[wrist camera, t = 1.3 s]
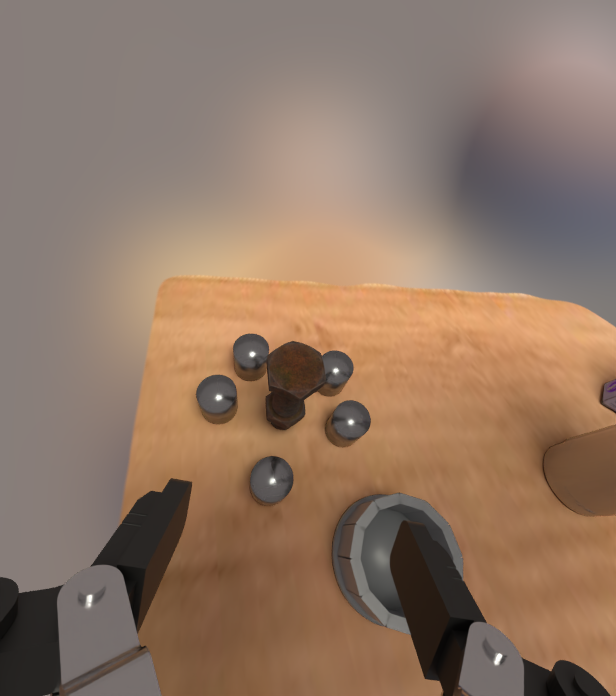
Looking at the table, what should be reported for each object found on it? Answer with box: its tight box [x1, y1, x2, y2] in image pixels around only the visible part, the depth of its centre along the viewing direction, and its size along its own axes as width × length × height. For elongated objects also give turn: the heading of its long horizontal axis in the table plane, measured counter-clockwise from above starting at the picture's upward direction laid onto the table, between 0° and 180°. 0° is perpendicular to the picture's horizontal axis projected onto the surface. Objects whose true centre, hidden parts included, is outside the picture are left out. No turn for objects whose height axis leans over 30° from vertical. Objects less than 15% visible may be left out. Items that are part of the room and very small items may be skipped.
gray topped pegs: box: [196, 334, 371, 506], centre depth 40 cm, size 19×19×5 cm
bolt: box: [266, 341, 326, 430], centre depth 35 cm, size 6×5×15 cm
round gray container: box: [332, 493, 463, 635], centre depth 33 cm, size 12×12×6 cm
